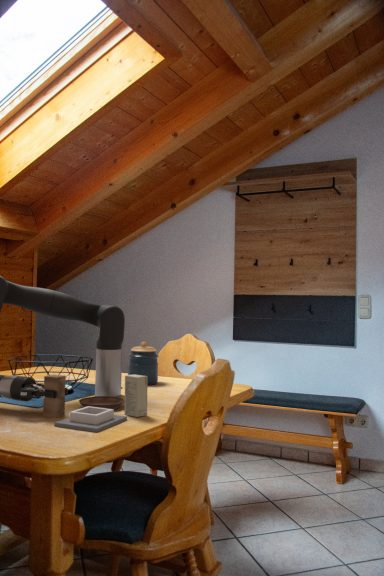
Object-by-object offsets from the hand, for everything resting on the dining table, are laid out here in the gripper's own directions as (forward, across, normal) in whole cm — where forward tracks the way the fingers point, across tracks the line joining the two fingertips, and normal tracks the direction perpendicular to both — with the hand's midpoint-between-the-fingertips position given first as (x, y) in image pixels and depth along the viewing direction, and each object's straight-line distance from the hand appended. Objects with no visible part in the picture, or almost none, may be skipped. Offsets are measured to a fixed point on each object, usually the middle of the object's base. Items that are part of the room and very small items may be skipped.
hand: (61, 393), depth 154 cm
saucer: (+3, +17, +8) cm, 19 cm away
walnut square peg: (-3, 0, +7) cm, 8 cm away
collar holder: (+12, -2, +7) cm, 14 cm away
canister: (-8, +66, +7) cm, 67 cm away
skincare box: (+18, +13, +7) cm, 24 cm away
